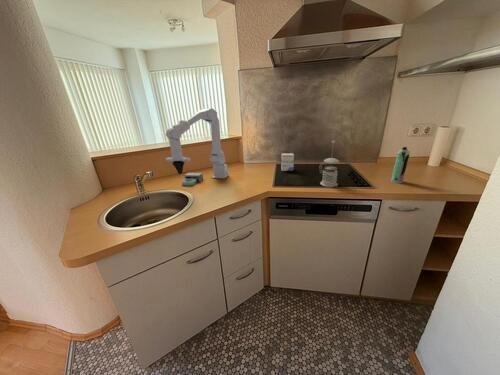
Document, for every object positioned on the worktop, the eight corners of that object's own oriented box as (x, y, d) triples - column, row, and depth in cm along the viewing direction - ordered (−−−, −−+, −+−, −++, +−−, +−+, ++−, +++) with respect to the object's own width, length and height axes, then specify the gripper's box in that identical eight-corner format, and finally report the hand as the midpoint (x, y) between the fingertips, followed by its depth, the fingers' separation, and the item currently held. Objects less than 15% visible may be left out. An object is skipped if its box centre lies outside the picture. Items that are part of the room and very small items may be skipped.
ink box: (292, 168, 149) (293, 153, 145) (293, 170, 145) (294, 154, 140) (281, 168, 150) (281, 153, 146) (281, 170, 146) (281, 154, 141)
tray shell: (196, 182, 130) (196, 178, 129) (192, 185, 125) (191, 182, 124) (186, 182, 132) (186, 178, 131) (182, 185, 126) (181, 181, 125)
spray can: (404, 183, 115) (413, 147, 107) (393, 182, 116) (401, 147, 109) (399, 179, 120) (408, 146, 112) (389, 179, 121) (397, 146, 114)
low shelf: (203, 179, 135) (202, 173, 134) (199, 182, 131) (198, 175, 129) (189, 178, 137) (188, 172, 136) (185, 181, 133) (184, 175, 131)
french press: (331, 188, 112) (336, 142, 103) (314, 182, 121) (317, 140, 112) (341, 183, 118) (347, 140, 108) (324, 179, 126) (328, 138, 117)
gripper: (160, 151, 111) (165, 175, 116) (184, 151, 107) (188, 176, 112) (168, 149, 117) (172, 171, 122) (190, 149, 114) (194, 172, 119)
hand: (180, 173), depth 118 cm, fingers closed
